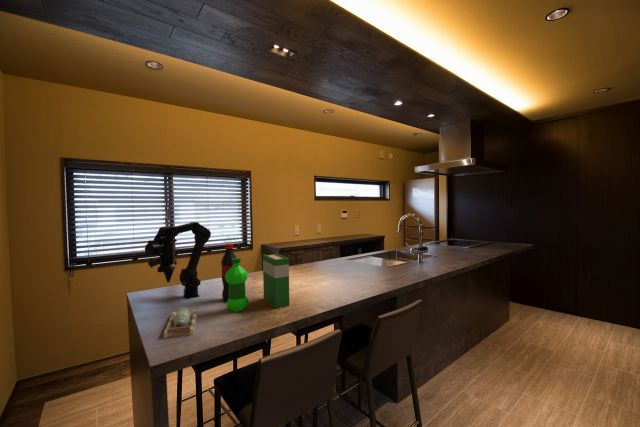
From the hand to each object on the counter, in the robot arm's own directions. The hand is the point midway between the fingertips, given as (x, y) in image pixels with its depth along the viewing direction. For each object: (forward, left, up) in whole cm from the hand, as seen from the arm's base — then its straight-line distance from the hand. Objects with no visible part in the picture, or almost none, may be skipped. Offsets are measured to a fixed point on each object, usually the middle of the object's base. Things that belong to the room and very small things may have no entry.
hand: (168, 282), depth 149 cm
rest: (+2, +30, -12) cm, 33 cm away
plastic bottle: (-23, +30, -12) cm, 40 cm away
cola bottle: (-27, +13, -12) cm, 32 cm away
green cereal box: (-43, +33, -12) cm, 56 cm away
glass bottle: (0, +26, -9) cm, 27 cm away
